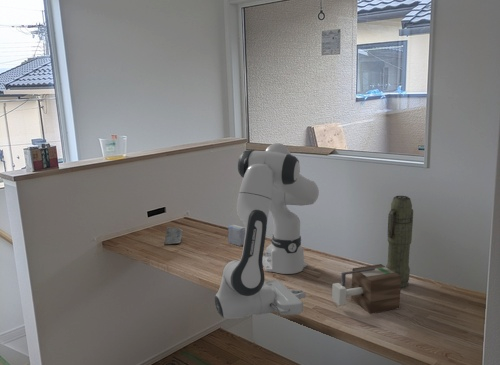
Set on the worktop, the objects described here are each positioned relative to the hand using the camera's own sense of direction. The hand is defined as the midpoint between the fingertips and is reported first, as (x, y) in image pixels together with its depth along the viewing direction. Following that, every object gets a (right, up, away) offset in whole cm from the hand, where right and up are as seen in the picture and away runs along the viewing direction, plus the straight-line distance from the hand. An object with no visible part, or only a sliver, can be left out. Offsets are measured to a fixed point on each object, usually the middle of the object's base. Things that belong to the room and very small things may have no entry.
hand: (303, 293), depth 161 cm
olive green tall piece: (+40, -3, +28) cm, 49 cm away
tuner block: (+27, -6, +11) cm, 29 cm away
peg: (+19, -4, +8) cm, 21 cm away
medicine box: (-24, +7, +77) cm, 81 cm away
